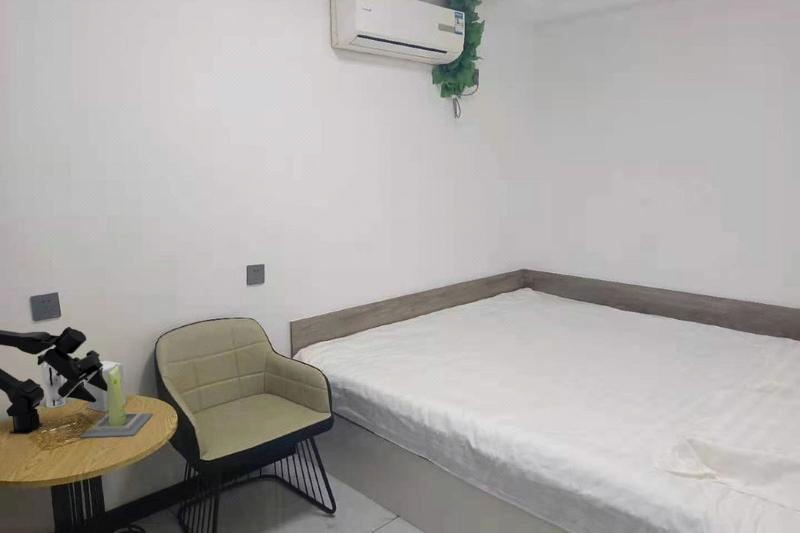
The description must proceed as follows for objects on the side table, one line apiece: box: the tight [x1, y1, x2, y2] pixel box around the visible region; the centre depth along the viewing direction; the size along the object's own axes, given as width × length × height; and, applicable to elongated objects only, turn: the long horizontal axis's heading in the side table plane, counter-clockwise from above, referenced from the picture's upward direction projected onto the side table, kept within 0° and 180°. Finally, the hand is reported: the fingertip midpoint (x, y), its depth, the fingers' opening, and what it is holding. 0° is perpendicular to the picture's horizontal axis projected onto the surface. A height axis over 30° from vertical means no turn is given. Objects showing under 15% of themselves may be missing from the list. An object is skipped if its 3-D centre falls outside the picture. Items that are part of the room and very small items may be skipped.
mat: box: [79, 412, 154, 439], centre depth 177 cm, size 16×16×1 cm
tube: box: [107, 362, 126, 426], centre depth 176 cm, size 6×5×20 cm
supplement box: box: [84, 360, 127, 413], centre depth 192 cm, size 9×9×15 cm
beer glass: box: [40, 362, 67, 409], centre depth 194 cm, size 7×7×15 cm
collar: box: [91, 411, 144, 433], centre depth 177 cm, size 11×11×2 cm
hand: (102, 395), depth 175 cm, fingers open, 9 cm apart
